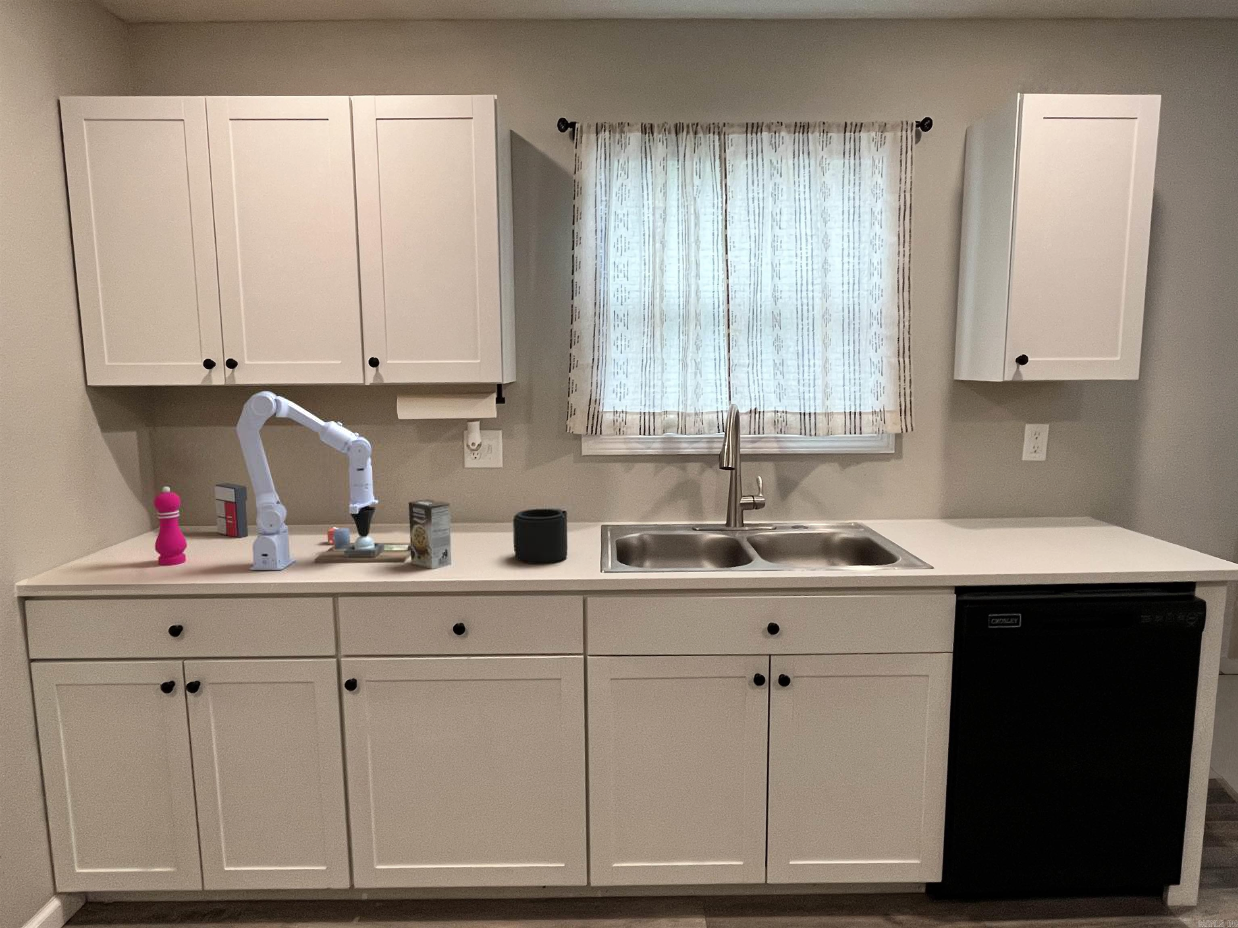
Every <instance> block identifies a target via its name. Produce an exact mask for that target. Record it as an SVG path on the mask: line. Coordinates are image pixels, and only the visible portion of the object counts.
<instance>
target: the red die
mask: <svg viewBox="0 0 1238 928" xmlns="http://www.w3.org/2000/svg"><path fill="white" fill-rule="evenodd" d="M340 528H341V527H335V526H333V527H331V528H330V529H328V530H327V531H326V532H327V534H326V535H327V545H328V546H329V545H330V546H334V545H335V544H334V530H335V529H340Z"/></svg>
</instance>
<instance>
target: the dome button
mask: <svg viewBox="0 0 1238 928" xmlns="http://www.w3.org/2000/svg"><path fill="white" fill-rule="evenodd" d="M354 543H355V544H354V546H355V549H373V548H374V543H375V540H374V539H373V538H372V537H371V536H370V535H367V536H358V537H357V538H356V539H355V541H354Z"/></svg>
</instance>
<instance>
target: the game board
mask: <svg viewBox="0 0 1238 928" xmlns="http://www.w3.org/2000/svg"><path fill="white" fill-rule="evenodd" d="M354 544H355V542H350V547H348V548H347V549H343V550H337V549H335V545H332V546H331V547H330V548H328V549H327V550H325V551H324V552H323V553H321V554H319V555H318V556H317V557H315V558H314V561H315V563H405V562H406V561H407V560H408V559H409V558H411V545H410V542H374V548H373V549H355V546H354Z"/></svg>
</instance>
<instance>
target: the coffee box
mask: <svg viewBox="0 0 1238 928" xmlns="http://www.w3.org/2000/svg"><path fill="white" fill-rule="evenodd" d="M408 516H409V517H408V519H409V540H410V542H409V543H410V545H411V556H410V560H411V561H410V562H411V564H413V565H417V566H420V567H424V568H427V569H432V570H435V569H439V568H442V567H446V566H450V565H452V547H451V546H452V545H451V544H452V543H451V506H450V502H444V501H440V500H434V499H430V498H427V499H418V500H413V501H408Z"/></svg>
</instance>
